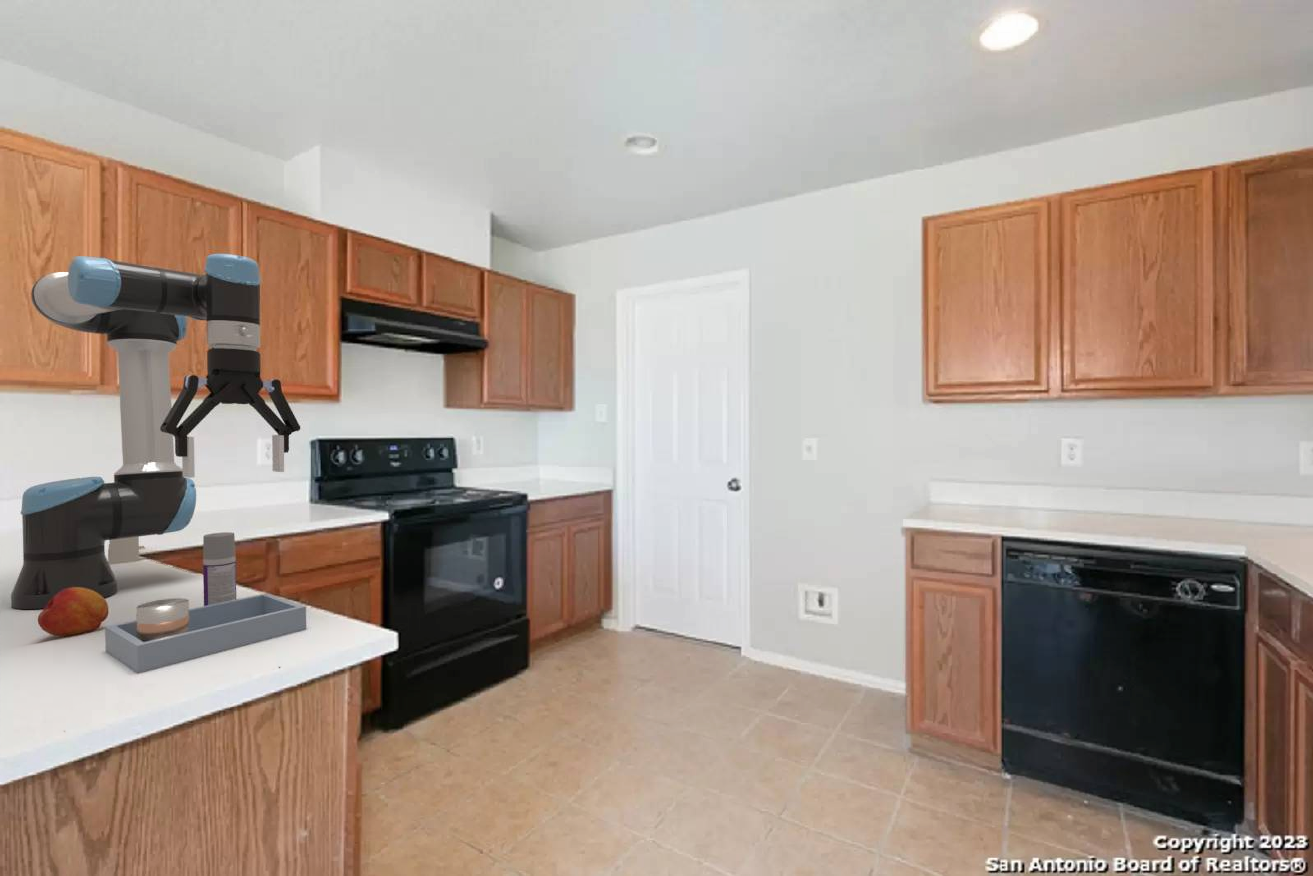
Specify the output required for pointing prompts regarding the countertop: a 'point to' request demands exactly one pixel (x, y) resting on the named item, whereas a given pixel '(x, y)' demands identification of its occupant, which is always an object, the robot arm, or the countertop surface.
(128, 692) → the countertop surface
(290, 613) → the tray
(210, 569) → the container
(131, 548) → the architectural model
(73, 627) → the fruit
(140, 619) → the tin
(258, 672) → the countertop surface
